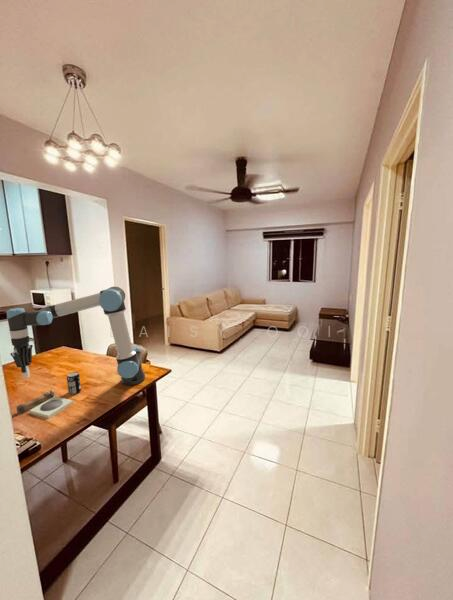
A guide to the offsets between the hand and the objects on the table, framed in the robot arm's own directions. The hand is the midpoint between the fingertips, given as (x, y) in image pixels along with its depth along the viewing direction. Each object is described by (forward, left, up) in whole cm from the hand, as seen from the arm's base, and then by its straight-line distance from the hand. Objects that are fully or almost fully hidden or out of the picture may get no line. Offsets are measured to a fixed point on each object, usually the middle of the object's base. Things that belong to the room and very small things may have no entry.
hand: (26, 376), depth 139 cm
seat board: (-17, 0, -16) cm, 23 cm away
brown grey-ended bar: (-6, +2, -16) cm, 17 cm away
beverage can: (-15, -16, -16) cm, 27 cm away
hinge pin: (-8, -7, -16) cm, 19 cm away
